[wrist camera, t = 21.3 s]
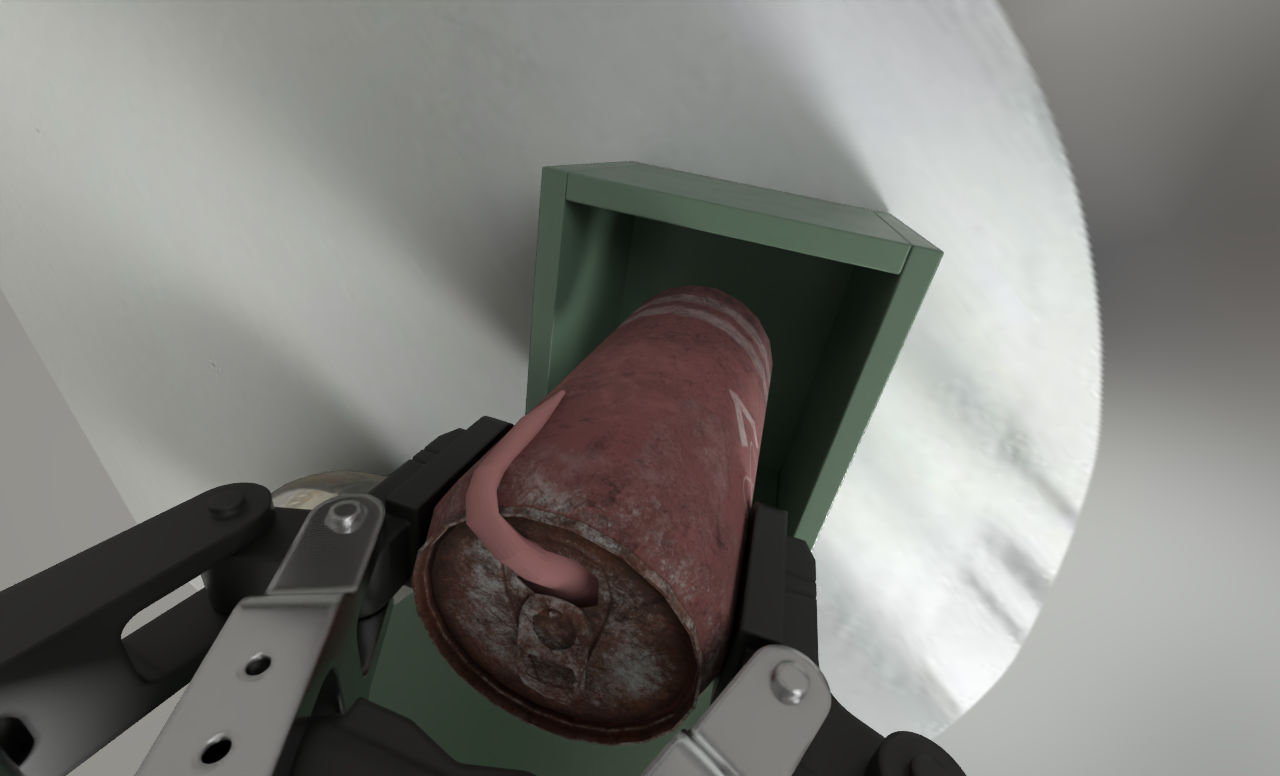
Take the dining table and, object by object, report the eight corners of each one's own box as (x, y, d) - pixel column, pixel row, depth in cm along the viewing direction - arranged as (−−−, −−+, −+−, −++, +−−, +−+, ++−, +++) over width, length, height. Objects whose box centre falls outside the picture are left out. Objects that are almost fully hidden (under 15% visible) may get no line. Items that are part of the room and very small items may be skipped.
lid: (43, 860, 9) (16, 1107, 9) (905, 1372, 6) (777, 1656, 7) (515, 515, 26) (492, 610, 27) (788, 610, 23) (755, 712, 24)
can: (727, 247, 19) (583, 432, 7) (797, 392, 20) (787, 760, 8) (597, 315, 21) (321, 537, 9) (668, 438, 23) (512, 768, 11)
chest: (630, 160, 28) (541, 166, 18) (892, 214, 26) (945, 252, 16) (593, 419, 36) (517, 517, 26) (790, 479, 33) (786, 611, 24)
